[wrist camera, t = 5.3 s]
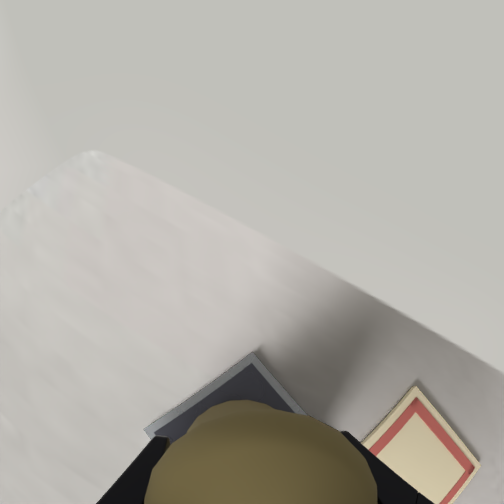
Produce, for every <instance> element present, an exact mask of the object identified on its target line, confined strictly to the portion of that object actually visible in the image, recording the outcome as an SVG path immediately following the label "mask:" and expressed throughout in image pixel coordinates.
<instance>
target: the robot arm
mask: <svg viewBox="0 0 504 504" xmlns="http://www.w3.org/2000/svg"><path fill="white" fill-rule="evenodd" d="M340 432H341V433H342V434H343V435H344V436H345V438H346V439H347V440H348V441H349V442H350V443H351V444H352V445H353V446H354V447H355V448H356V449H357V450H358V451H359V452H360V453H361V454H362V455H363V457H364V458H365V459H366V461H367V463H368V466H369V468H370V470H371V473H372V475H373V477H374V480H375V482H376V484H377V504H435V503H433V502H432V501H430V500H429V499H428V498H426V497H425V496H424V495H422V494H421V493H420V492H418V491H417V490H416V489H415V488H414V487H412V486H411V485H410V484H409V483H407V482H406V481H405V480H404V479H402V478H401V477H400V476H399V475H398V474H396V473H395V472H394V471H393V470H392V469H390V468H389V467H388V466H387V465H386V464H384V463H383V462H382V461H381V460H380V459H379V458H377V457H376V456H375V455H374V454H373V453H372V452H370V451H369V450H368V449H367V448H366V447H365V446H364V445H362V444H361V443H360V442H359V441H358V440H357V439H356V438H354V437H353V436H352V435H351V434H350V433H349V432H347V431H340ZM170 445H171V444H170V440H169V438H168V437H167V436H160V435H156V436H154V437H153V438H152V440H151V441H150V442H149V443H148V444H147V446H146V447H145V448H144V449H143V450H142V452H141V453H140V454H139V455H138V456H137V457H136V459H135V460H134V461H133V462H132V463H131V464H130V466H129V467H128V468H127V469H126V470H125V471H124V473H123V474H122V475H121V476H120V477H119V478H118V480H117V481H116V482H115V483H114V484H113V485H112V486H111V488H110V489H109V490H108V491H107V492H106V493H105V494H104V495H103V497H102V498H101V499H100V500H99V501H98V502H97V503H96V504H144V498H145V494H146V491H147V487H148V483H149V480H150V476H151V473H152V469H153V468H154V467H155V465H156V464H157V463H158V461H159V460H160V459H161V457H162V456H163V455H164V453H165V452H166V451H167V449H168V448H169V447H170Z"/></svg>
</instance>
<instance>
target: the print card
mask: <svg viewBox="0 0 504 504" xmlns="http://www.w3.org/2000/svg"><path fill="white" fill-rule="evenodd" d="M361 444H362V445H364V446H365V447H366V448H367V449H368V450H369V451H370V452H372V453H373V454H374V455H375V456H376V457H377V458H379V459H380V460H381V461H382V462H383V463H384V464H386V465H387V466H388V467H389V468H390V469H392V470H393V471H394V472H395V473H396V474H398V475H399V476H400V477H401V478H402V479H404V480H405V481H406V482H407V483H409V484H410V485H411V486H412V487H414V488H415V489H416V490H417V491H418V492H420V493H421V494H422V495H424V496H425V497H426V498H428V499H429V500H430V501H432V502H433V503H435V504H453V502H454V501H455V500H456V499H457V498H458V496H459V495H460V494H461V493H462V491H463V490H464V489H465V487H466V486H467V485H468V483H469V482H470V481H471V479H472V478H473V476H474V475H475V474H476V472H477V471H478V469H479V468H480V467H481V465H480V463H479V462H478V461H477V460H476V458H475V457H474V456H473V454H472V453H471V452H470V451H469V449H468V448H467V447H466V446H465V444H464V443H463V442H462V441H461V439H460V438H459V437H458V436H457V435H456V433H455V432H454V431H453V430H452V428H451V427H450V426H449V425H448V424H447V422H446V421H445V420H444V419H443V417H442V416H441V415H440V414H439V413H438V411H437V410H436V409H435V408H434V407H433V405H432V404H431V403H430V402H429V401H428V399H427V398H426V397H425V396H424V395H423V393H422V392H421V391H420V390H419V389H418V388H417V386H413V387H412V388H411V389H410V390H409V391H408V392H407V394H406V395H405V396H404V397H403V398H402V399H401V401H400V402H399V403H398V404H397V405H396V406H395V408H394V409H393V410H392V411H391V412H390V413H389V414H388V415H387V416H386V418H385V419H384V420H383V421H382V422H381V423H380V424H379V425H378V426H377V427H376V428H375V429H374V430H373V431H372V432H371V433H370V434H369V435H368V436H367V437H366V438H365V439H364V440H363V441H362V442H361Z"/></svg>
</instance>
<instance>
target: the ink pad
mask: <svg viewBox="0 0 504 504" xmlns="http://www.w3.org/2000/svg"><path fill="white" fill-rule="evenodd" d="M233 400H251V401H255V402H259V403H264V404H267V405H268V406H270V407H272V408H274V409H277V410H281V411H286V412H291V413H296V414H302V415H307V414H306V413H305V412H304V411H303V410H302V408H301V407H300V406H299V405H298V404H297V403H296V402H295V401H294V400H293V398H292V397H291V396H290V395H289V394H288V393H287V392H286V390H285V389H284V388H283V387H282V386H281V385H280V384H279V382H278V381H277V380H276V379H275V378H274V377H273V375H272V374H271V373H270V372H269V371H268V370H267V368H266V367H265V366H264V365H263V364H262V363H261V361H260V360H259V359H258V358H257V357H256V355H255V354H254V353H253V352H252V353H250V354H249V355H248V356H247V357H245V358H244V359H243V360H241V361H240V362H239V363H237V364H236V365H235V366H233V367H232V368H231V369H229V370H228V371H227V372H225V373H224V374H223V375H221V376H220V377H219V378H217V379H216V380H214V381H213V382H212V383H210V384H209V385H207V386H206V387H205V388H203V389H202V390H200V391H199V392H198V393H196V394H195V395H193V396H192V397H191V398H189V399H188V400H186V401H185V402H183V403H182V404H180V405H179V406H178V407H176V408H175V409H173V410H172V411H170V412H169V413H167V414H166V415H164V416H163V417H161V418H160V419H158V420H157V421H155V422H154V423H152V424H151V425H149V426H147V427H146V428H144V431H145V432H146V433H147V435H148V436H149V437H150V439H151V440H152V438H153V437H154V436H156V435H160V436H167V437H168V438H169V440H170V444H172V443H173V442H175V441H176V440H178V439H179V438H181V437H182V436H184V435H185V434H186V433H187V431H188V429H189V428H190V427H191V425H192V424H193V422H194V421H195V420H196V418H197V417H198V416H199V415H201V414H202V413H204V412H205V411H206V410H208V409H209V408H211V407H212V406H215V405H218V404H221V403H224V402H227V401H233ZM307 416H308V415H307Z"/></svg>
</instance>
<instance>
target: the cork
mask: <svg viewBox="0 0 504 504" xmlns="http://www.w3.org/2000/svg"><path fill="white" fill-rule="evenodd" d="M144 504H377V484H376V482H375V480H374V477H373V475H372V473H371V470H370V468H369V466H368V463H367V461H366V459H365V458H364V457H363V455H362V454H361V453H360V452H359V451H358V450H357V449H356V448H355V447H354V446H353V445H352V444H351V443H350V442H349V441H348V440H347V439H346V438H345V436H344V435H343V434H342V433H341V432H340V431H338V430H336V429H334V428H332V427H330V426H328V425H326V424H324V423H322V422H320V421H318V420H316V419H315V418H313V417H311V416H307V415H302V414H296V413H291V412H286V411H281V410H277V409H274V408H272V407H270V406H268V405H267V404H264V403H259V402H255V401H251V400H233V401H227V402H224V403H221V404H218V405H215V406H212V407H211V408H209V409H208V410H206V411H205V412H204V413H202V414H201V415H199V416H198V417H197V418H196V420H195V421H194V422H193V424H192V425H191V427H190V428H189V429H188V431H187V433H186V434H185V435H184V436H182V437H181V438H179V439H178V440H176V441H175V442H173V443H172V444H171V445H170V447H169V448H168V449H167V451H166V452H165V453H164V455H163V456H162V457H161V459H160V460H159V461H158V463H157V464H156V465H155V467H154V468H153V469H152V473H151V476H150V480H149V483H148V487H147V491H146V494H145V498H144Z"/></svg>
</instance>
